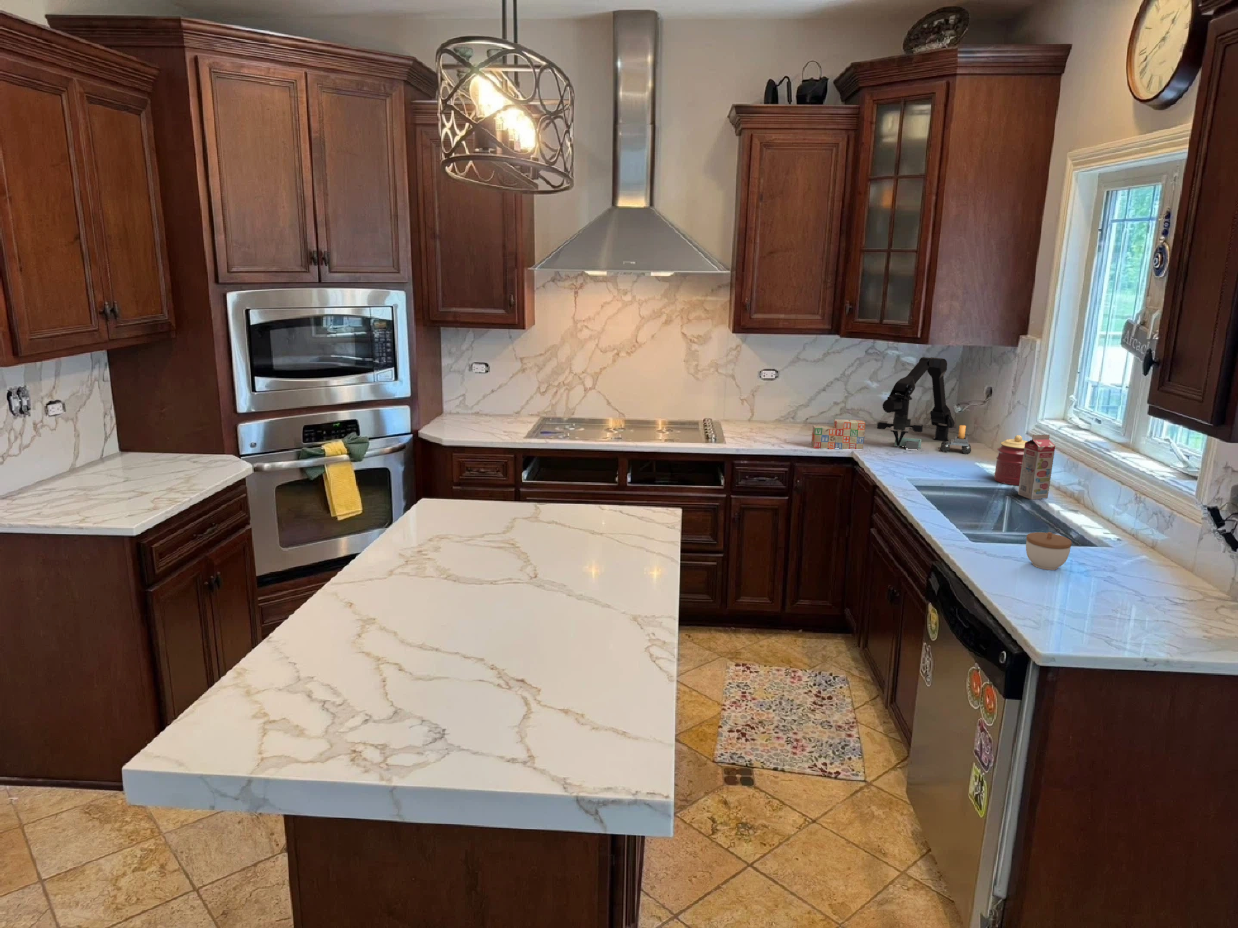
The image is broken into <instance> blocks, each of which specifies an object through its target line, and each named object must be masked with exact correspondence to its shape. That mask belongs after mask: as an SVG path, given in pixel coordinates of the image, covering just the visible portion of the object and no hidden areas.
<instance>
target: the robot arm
mask: <svg viewBox="0 0 1238 928" xmlns="http://www.w3.org/2000/svg"><path fill="white" fill-rule="evenodd" d="M947 370H948V361H947V359H945V358H942V357H940V358H939V357H932V356H931V357H927V356H922V357H920V358H919V360H918V362H917V363H916V364H915V366H914V367H913V368H912V369H911V370H910V372H909V373H908V374H907V375H906V376H905V377H902V378H900V379H898V381H896V382H895V383H894V386H893V388H892V389H891V391H890V393H889V395H888V396H887V397H886V398H887V399H885V400H884V402H883V403H882V410H883V411H884V412H885V413H889V414H891V413H893V414H894V415H893V420H892V421H893V422H892V423H890V422H889V423H888V421H889V420H888V421H887V420H879V421H878V422H877V427H876V429H878V430H885V429H886V428H889V429H890V432H891V433H893V435H894V437H895V438H894V440H895V439H896V443H897V446H899V445H900V442H901V440H902V438H904V436H905V434H909V431H910V430H912V431H914V432H915V433H923V429H924V425H923V423H917V422H916V423H915V422H914V423H913V424H911V420H912V419H910V418H909V409H910V401H912V400H913V397H912V396H911V395H912V394H913V392H914V391H915V390H916V384H917V382H918V381H919V380H920V379H921V378H922V376H923V375H924V374H925V373H926V372H927V373H928V374H929V376H930V377H931V382H932V383H931V384H932V395H933V405H934V407H933V408H932V409H931V411H930V412H929V413H930V420H931V421H930V422H931V426H935V432H934V436H933V440H935V441H948V442H950V441H949V440H950V437H949V431H950V429H953V428H954V427H955V420H954V418H953V416H952V414H951V413H952V412H951V409H950V408H949V406H948V405H947V401H946V390H945V389H946V388H945V379H944V377H945V376H944V375H946V372H947ZM899 431H900V435H899ZM898 437H900V438H899V440H898Z"/></svg>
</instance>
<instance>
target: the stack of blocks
mask: <svg viewBox="0 0 1238 928" xmlns="http://www.w3.org/2000/svg"><path fill="white" fill-rule="evenodd" d="M865 434H866V422H865V421H864V420H858V419H834V420H833V425H818V424H817V425H815V424H813V425H812V432H811V447H812V448H813V449H819V448H820V449H821V448H829V449H828V450H836V449H835V448H839V449H838V450H843V449H863V450H864V442H865Z"/></svg>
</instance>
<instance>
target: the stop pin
mask: <svg viewBox="0 0 1238 928" xmlns="http://www.w3.org/2000/svg"><path fill="white" fill-rule="evenodd" d="M966 428H967V425H965V424H960V425H959V428H958V435H957V437H958V438H959V439H965V437H966Z"/></svg>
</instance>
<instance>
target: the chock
mask: <svg viewBox="0 0 1238 928" xmlns="http://www.w3.org/2000/svg"><path fill="white" fill-rule="evenodd" d="M918 445H919V442H918V441H907V442H906V447H905V449H906V448H908V449H917V450H918V451H919V449H918Z"/></svg>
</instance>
